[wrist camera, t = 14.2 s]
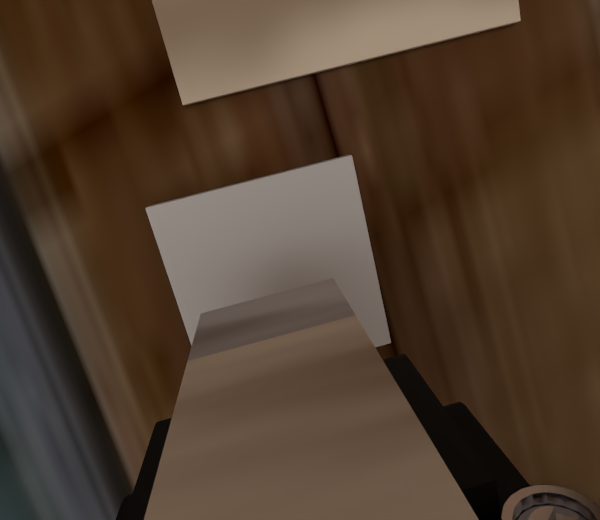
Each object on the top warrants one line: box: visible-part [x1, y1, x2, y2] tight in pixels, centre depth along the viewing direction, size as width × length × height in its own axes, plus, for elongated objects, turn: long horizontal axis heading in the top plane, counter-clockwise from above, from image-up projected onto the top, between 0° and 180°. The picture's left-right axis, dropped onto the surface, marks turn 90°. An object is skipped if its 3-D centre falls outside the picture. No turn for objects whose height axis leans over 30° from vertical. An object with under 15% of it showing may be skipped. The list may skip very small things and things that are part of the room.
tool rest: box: [145, 155, 391, 347], centre depth 24 cm, size 10×10×1 cm
